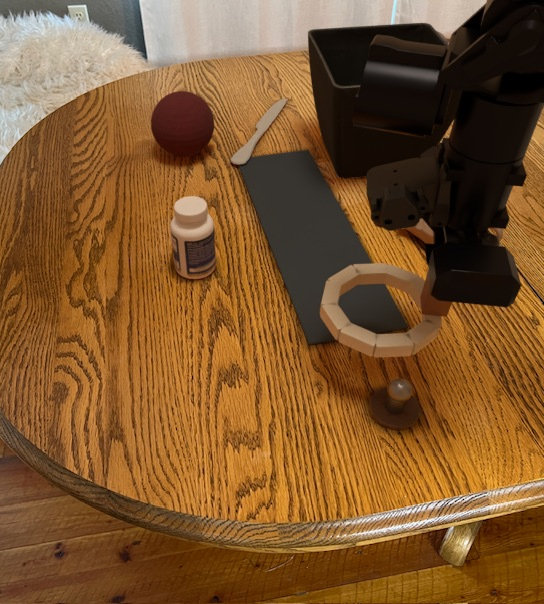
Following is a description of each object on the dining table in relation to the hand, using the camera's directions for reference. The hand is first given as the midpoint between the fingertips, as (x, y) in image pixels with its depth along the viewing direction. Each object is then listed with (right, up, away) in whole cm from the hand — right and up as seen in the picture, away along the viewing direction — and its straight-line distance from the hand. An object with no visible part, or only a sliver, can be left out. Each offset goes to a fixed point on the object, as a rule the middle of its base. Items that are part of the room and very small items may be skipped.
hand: (439, 289), depth 58 cm
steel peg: (-3, -12, +4) cm, 13 cm away
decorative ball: (-27, +23, +41) cm, 54 cm away
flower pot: (+3, +22, +39) cm, 45 cm away
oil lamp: (+9, +7, +23) cm, 26 cm away
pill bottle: (-24, +3, +21) cm, 32 cm away
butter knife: (-14, +28, +45) cm, 55 cm away
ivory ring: (-5, -2, +3) cm, 6 cm away
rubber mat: (-9, +9, +25) cm, 28 cm away
